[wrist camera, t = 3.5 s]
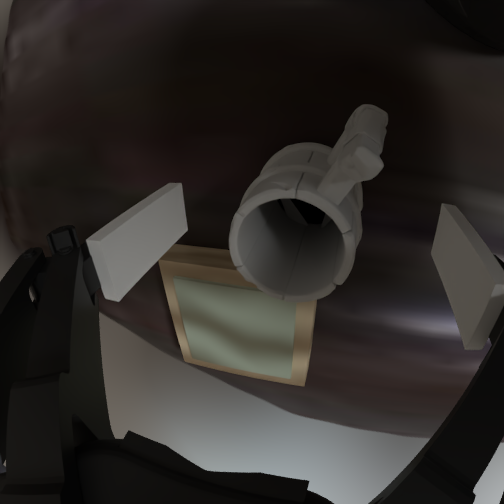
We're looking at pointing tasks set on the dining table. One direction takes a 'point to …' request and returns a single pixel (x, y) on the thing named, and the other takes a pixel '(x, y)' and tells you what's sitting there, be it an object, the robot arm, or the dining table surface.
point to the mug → (292, 222)
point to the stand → (234, 318)
